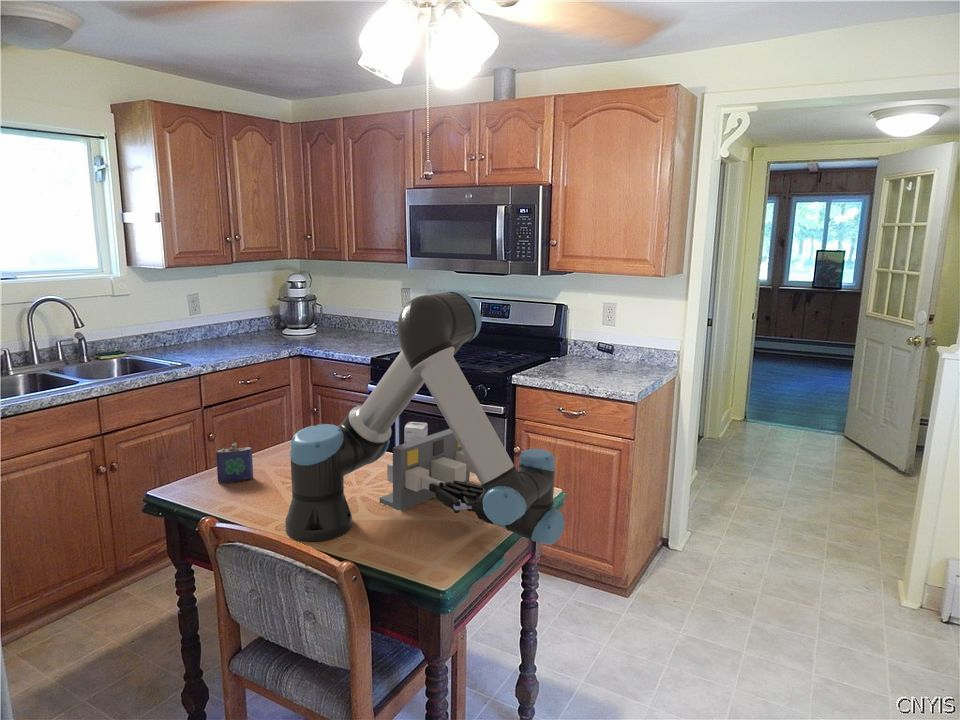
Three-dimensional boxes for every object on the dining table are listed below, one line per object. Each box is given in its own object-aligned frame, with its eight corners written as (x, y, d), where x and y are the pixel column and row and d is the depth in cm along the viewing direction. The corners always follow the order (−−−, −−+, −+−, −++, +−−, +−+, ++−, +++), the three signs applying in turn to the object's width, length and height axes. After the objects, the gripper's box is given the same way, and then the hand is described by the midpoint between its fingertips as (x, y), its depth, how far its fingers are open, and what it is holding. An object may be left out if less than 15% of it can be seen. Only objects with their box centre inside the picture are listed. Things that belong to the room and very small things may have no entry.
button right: (478, 474, 168) (478, 459, 167) (449, 465, 174) (449, 449, 174) (488, 470, 171) (489, 454, 170) (459, 461, 178) (459, 446, 177)
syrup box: (427, 469, 187) (428, 421, 184) (423, 476, 181) (423, 427, 178) (408, 467, 188) (408, 420, 185) (403, 475, 182) (403, 426, 179)
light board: (402, 511, 158) (402, 450, 155) (379, 502, 163) (379, 442, 160) (470, 481, 178) (471, 427, 175) (448, 474, 183) (449, 421, 180)
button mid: (454, 485, 161) (455, 468, 160) (424, 474, 167) (425, 458, 166) (466, 480, 164) (466, 464, 163) (436, 470, 171) (436, 454, 170)
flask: (253, 476, 178) (251, 440, 176) (253, 480, 176) (252, 443, 174) (217, 481, 175) (215, 443, 173) (217, 484, 172) (215, 447, 170)
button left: (416, 491, 156) (416, 474, 155) (387, 480, 162) (387, 464, 162) (428, 486, 159) (429, 470, 159) (399, 476, 166) (399, 460, 165)
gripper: (480, 534, 138) (404, 503, 153) (515, 515, 148) (441, 488, 163) (481, 502, 137) (404, 474, 152) (516, 484, 147) (441, 460, 161)
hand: (423, 481), depth 157 cm, fingers closed
